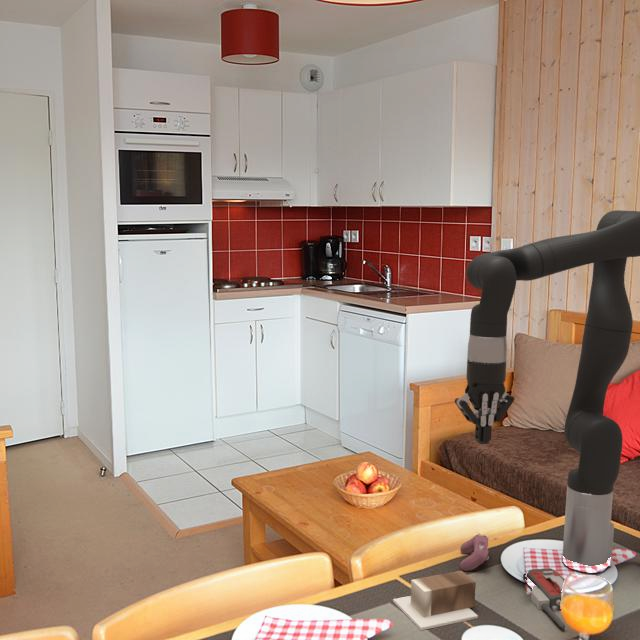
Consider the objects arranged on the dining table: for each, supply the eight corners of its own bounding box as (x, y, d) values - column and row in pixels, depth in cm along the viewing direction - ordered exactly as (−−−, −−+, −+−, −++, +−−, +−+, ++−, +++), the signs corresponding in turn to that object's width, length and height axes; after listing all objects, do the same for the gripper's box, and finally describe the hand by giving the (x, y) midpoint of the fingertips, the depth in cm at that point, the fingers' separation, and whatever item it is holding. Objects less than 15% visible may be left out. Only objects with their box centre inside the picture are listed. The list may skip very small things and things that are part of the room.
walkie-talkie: (512, 582, 162) (557, 634, 143) (513, 561, 161) (559, 612, 142) (552, 579, 164) (602, 631, 144) (554, 559, 163) (604, 608, 143)
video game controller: (477, 580, 165) (494, 553, 163) (457, 569, 165) (474, 542, 164) (476, 559, 175) (492, 534, 173) (458, 549, 175) (474, 523, 173)
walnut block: (461, 570, 154) (411, 579, 150) (475, 582, 149) (424, 591, 145) (460, 594, 155) (410, 604, 150) (474, 606, 150) (423, 617, 146)
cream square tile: (446, 591, 157) (446, 588, 157) (477, 618, 147) (477, 615, 147) (392, 601, 152) (392, 599, 152) (420, 630, 142) (421, 627, 142)
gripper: (504, 352, 161) (499, 434, 163) (447, 355, 156) (443, 441, 158) (526, 359, 154) (521, 445, 156) (468, 363, 149) (464, 452, 151)
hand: (482, 443), depth 157 cm, fingers closed
